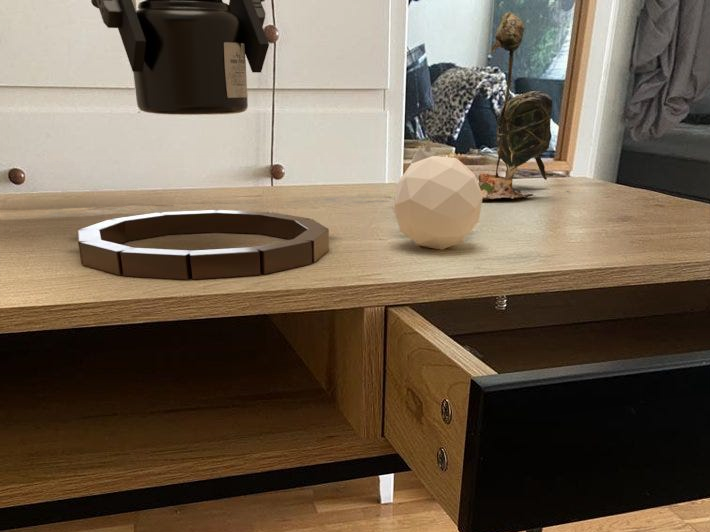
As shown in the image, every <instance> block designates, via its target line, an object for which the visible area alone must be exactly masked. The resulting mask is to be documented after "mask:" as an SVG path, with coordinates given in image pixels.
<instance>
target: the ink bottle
mask: <svg viewBox="0 0 710 532" xmlns="http://www.w3.org/2000/svg"><path fill="white" fill-rule="evenodd" d="M135 11H136V14H137V17H138V19H139V22H140V25H141V28H142V31H143V34H144V37H145V40H146V48H145V56H144V65H143V72H133V71H132V75H133V84H134V94H135V102H136V107H137V109H138V110H139V111H140V112H143V113H146V114H153V115H154V114H155V115H166V116H167V115H168V116H169V115H170V116H175V115H176V116H208V115H209V116H213V115H233V114H241V113H244V112H246V111H247V110H248V106H249V102H248V81H247V79H248V77H247V61H246V60H247V58H246V55H245V44H244V29H243V24H242V21H241V20H240V18H239V17H238V16H237V15H236V14H235V13H233V12H232V11H231V9H230V6H229V3H226V2H224V1H223V0H142V1H140V2H138V3H137V9H135Z"/></svg>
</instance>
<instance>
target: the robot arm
mask: <svg viewBox="0 0 710 532" xmlns="http://www.w3.org/2000/svg"><path fill="white" fill-rule="evenodd" d="M265 1H266V0H229V1H228V5H229V6H230V9H231V11H232V12H233V13H235V14H236V15H237V16H238V17H239V18H240V20H241V21H242V24H243V29H244V44H245V58H246V60H247V62H248V64H249V67H250V70H251V73H257V74H258V73H262V71H263V67H264V64H265V60H266V58H267V54H268V50H269V47H270V43H269V41H268V38H267V35H266V33H265V30H264V28H263V27H264V24H265V20H266V11H265V9H264V6H263V2H265ZM90 3H91V5H92V6H93V7H94V8H96V9H98V11H99V13H100V16H101V20H102V22H103V24H104V25H105V26H106V27H107V28H108V29H118V32H119V36H120V39H121V42H122V45H123V49H124V50H125V53H126V56H127V58H128V59H127V60H128V63H129V65H130V67H131V72H132V73H133V72H143V65H144V56H145V48H146V40H145V37H144V34H143V31H142V28H141V25H140V22H139V19H138V17H137V14H136V8H135V5H134V2H133V0H90Z"/></svg>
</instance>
